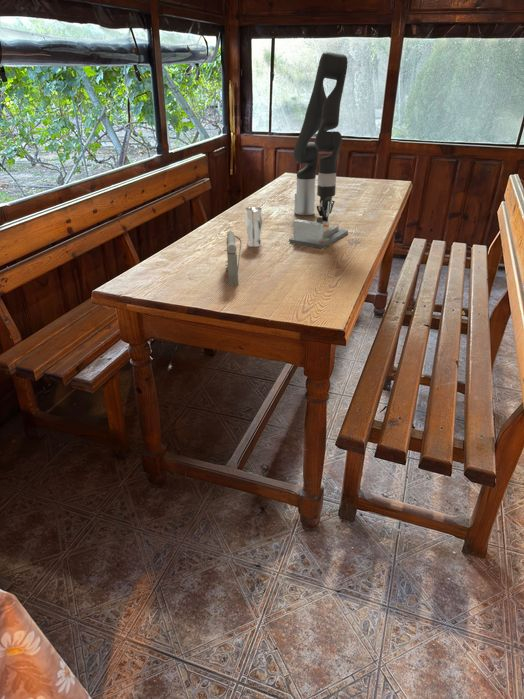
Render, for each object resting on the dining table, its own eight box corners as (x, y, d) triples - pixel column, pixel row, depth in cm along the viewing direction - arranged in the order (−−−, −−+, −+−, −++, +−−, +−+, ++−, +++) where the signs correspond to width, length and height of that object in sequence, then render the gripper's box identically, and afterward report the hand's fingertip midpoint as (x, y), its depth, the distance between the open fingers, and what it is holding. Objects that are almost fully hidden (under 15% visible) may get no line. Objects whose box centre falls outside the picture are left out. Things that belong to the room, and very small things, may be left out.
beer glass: (264, 243, 207) (264, 207, 200) (259, 248, 202) (258, 211, 194) (249, 241, 209) (248, 206, 202) (243, 246, 204) (242, 210, 196)
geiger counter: (222, 228, 178) (224, 251, 156) (240, 228, 178) (244, 250, 157) (225, 265, 185) (226, 291, 163) (242, 264, 185) (245, 290, 163)
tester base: (289, 242, 208) (289, 234, 206) (315, 228, 225) (315, 221, 223) (323, 248, 200) (323, 240, 198) (347, 233, 218) (348, 225, 216)
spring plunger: (309, 235, 211) (309, 218, 207) (315, 231, 215) (316, 215, 211) (322, 237, 208) (322, 220, 204) (328, 233, 212) (329, 217, 209)
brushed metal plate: (293, 239, 206) (293, 220, 202) (296, 238, 208) (297, 219, 204) (319, 244, 200) (320, 224, 196) (322, 242, 202) (323, 223, 198)
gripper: (325, 179, 211) (323, 220, 220) (311, 185, 202) (310, 227, 210) (341, 181, 208) (339, 222, 216) (327, 187, 198) (326, 230, 207)
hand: (324, 225), depth 213 cm, fingers closed
